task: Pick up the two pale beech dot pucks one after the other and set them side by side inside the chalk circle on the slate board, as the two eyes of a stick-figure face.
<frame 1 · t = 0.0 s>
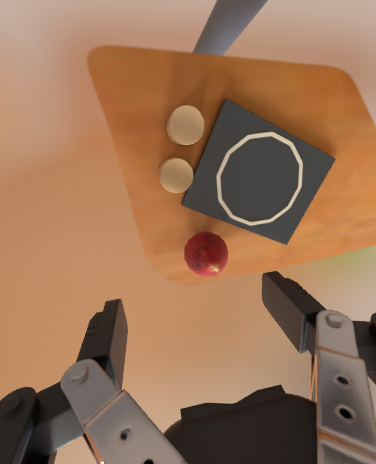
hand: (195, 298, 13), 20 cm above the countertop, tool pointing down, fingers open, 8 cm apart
onion: (199, 242, 35), on the countertop
dot a: (182, 127, 29), on the countertop
slate board: (257, 180, 32), on the countertop
dot b: (173, 173, 30), on the countertop
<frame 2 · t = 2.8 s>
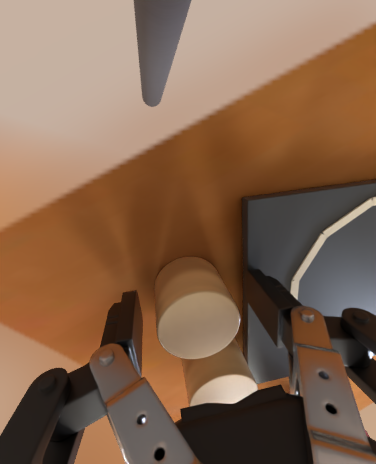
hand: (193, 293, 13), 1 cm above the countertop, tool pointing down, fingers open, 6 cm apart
dot a: (187, 285, 14), on the countertop
slate board: (364, 278, 16), on the countertop
dot b: (209, 349, 16), on the countertop
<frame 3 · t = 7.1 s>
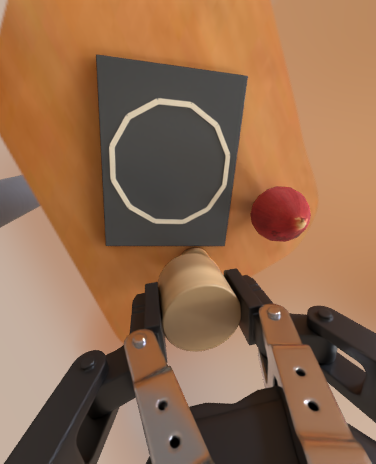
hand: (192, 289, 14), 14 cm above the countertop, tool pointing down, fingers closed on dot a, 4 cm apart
onion: (262, 205, 28), on the countertop
dot a: (189, 281, 14), point 13 cm above the countertop, touching gripper
slate board: (171, 166, 25), on the countertop
dot b: (194, 261, 29), on the countertop
when the fingers open (2 cm above the countertop, at t = 10.7 s): dot a stays where it is, resting on slate board.
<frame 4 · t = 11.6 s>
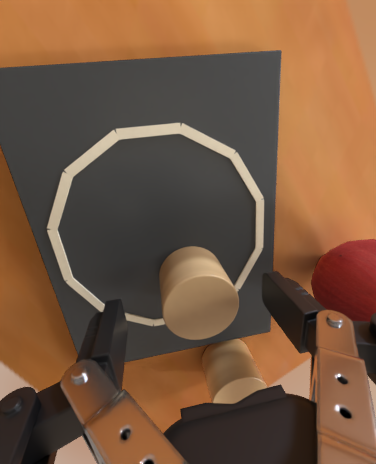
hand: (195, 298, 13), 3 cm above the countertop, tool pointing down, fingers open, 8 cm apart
onion: (321, 259, 17), on the countertop
dot a: (190, 274, 15), point 1 cm above the countertop, touching slate board
slate board: (164, 234, 14), on the countertop
dot b: (225, 356, 19), on the countertop
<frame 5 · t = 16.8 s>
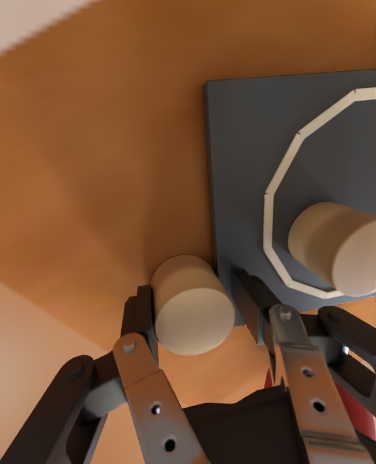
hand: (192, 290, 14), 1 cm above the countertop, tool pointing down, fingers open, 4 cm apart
onion: (280, 351, 18), on the countertop
dot a: (317, 234, 14), point 1 cm above the countertop, touching slate board
slate board: (349, 204, 14), on the countertop
dot b: (183, 283, 14), on the countertop, touching gripper, slate board
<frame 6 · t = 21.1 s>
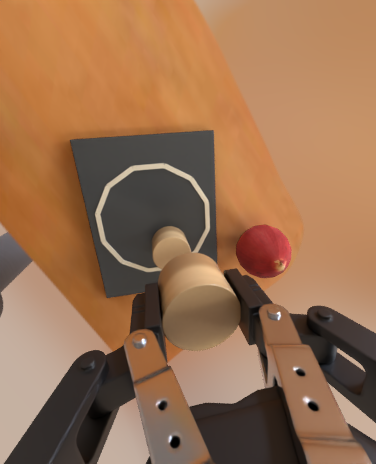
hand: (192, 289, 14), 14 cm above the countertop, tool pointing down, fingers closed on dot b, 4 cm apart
onion: (248, 238, 30), on the countertop
dot a: (169, 242, 27), point 1 cm above the countertop, touching slate board
slate board: (155, 219, 26), on the countertop
dot b: (189, 281, 14), point 13 cm above the countertop, touching gripper
when the fingers open (2 cm above the countertop, at t = 24.5 s): dot b stays where it is, resting on slate board.
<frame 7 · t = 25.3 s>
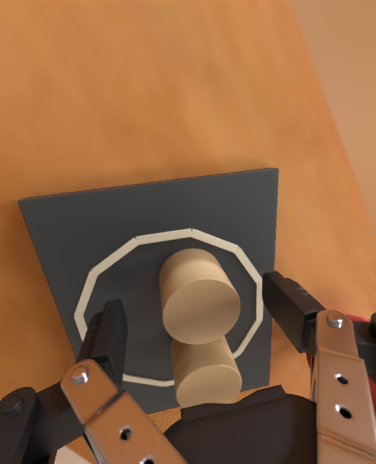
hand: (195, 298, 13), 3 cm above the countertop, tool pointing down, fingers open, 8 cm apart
dot a: (197, 343, 17), point 1 cm above the countertop, touching slate board
slate board: (174, 309, 16), on the countertop
dot b: (190, 276, 15), point 1 cm above the countertop, touching slate board
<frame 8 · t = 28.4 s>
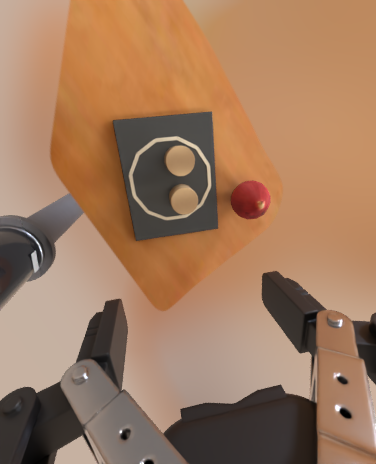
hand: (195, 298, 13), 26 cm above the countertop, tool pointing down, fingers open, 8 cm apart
onion: (240, 195, 39), on the countertop
dot a: (181, 196, 36), point 1 cm above the countertop, touching slate board
slate board: (171, 180, 36), on the countertop
dot b: (177, 159, 34), point 1 cm above the countertop, touching slate board
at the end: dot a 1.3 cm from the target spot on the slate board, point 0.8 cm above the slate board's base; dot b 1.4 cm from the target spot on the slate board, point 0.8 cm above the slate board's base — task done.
